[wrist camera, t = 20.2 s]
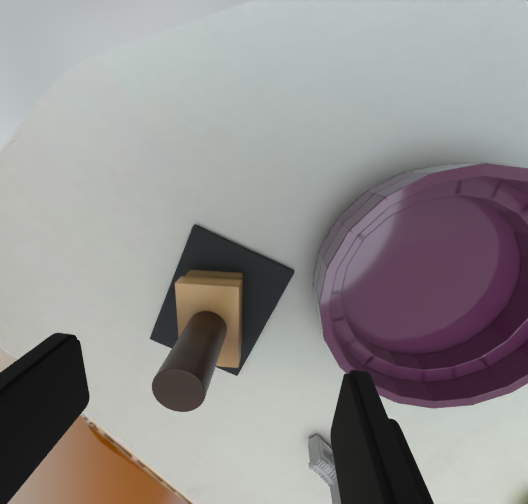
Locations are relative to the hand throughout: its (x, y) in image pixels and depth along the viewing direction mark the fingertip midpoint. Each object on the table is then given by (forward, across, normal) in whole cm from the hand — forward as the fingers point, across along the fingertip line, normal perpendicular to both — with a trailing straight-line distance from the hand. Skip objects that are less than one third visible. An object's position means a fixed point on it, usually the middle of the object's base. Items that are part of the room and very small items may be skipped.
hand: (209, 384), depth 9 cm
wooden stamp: (+13, +3, +5) cm, 14 cm away
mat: (+13, +3, +5) cm, 14 cm away
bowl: (+13, -14, 0) cm, 19 cm away
